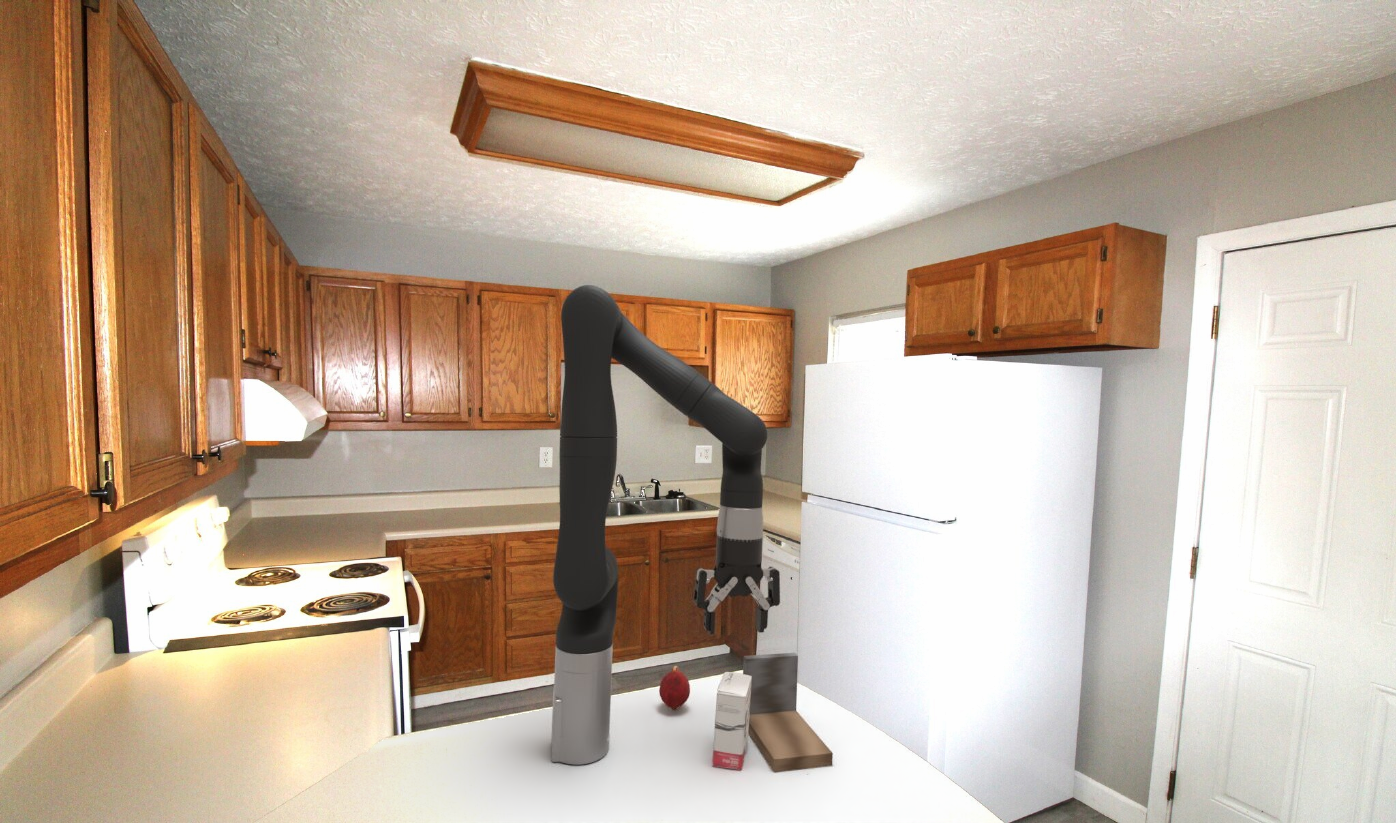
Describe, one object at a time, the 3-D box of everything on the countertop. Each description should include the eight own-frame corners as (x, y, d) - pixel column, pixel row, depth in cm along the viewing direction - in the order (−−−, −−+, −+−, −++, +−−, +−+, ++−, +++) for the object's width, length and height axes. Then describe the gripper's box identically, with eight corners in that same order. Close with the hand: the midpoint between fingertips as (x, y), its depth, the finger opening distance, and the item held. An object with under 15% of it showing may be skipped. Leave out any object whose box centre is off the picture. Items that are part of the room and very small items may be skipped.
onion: (688, 717, 112) (690, 673, 112) (657, 716, 112) (659, 672, 112) (689, 703, 118) (691, 661, 118) (659, 701, 118) (661, 660, 118)
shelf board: (773, 772, 95) (776, 694, 95) (741, 722, 111) (743, 655, 111) (832, 765, 98) (834, 690, 98) (792, 717, 113) (794, 652, 113)
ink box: (743, 772, 95) (746, 695, 95) (711, 767, 96) (714, 691, 96) (750, 743, 104) (752, 673, 104) (720, 739, 105) (722, 669, 105)
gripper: (704, 538, 95) (699, 642, 95) (788, 537, 99) (784, 638, 99) (692, 529, 103) (688, 626, 102) (771, 529, 106) (767, 622, 106)
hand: (735, 632), depth 100 cm, fingers open, 8 cm apart
